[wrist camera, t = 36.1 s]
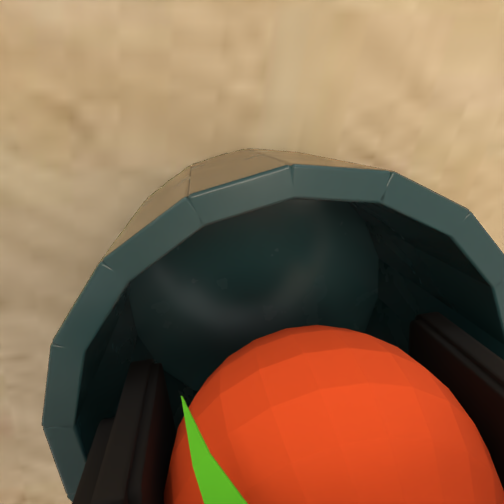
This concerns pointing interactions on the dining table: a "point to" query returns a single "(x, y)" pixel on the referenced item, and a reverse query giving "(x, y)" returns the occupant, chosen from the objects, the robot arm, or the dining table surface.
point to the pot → (262, 279)
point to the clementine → (327, 429)
